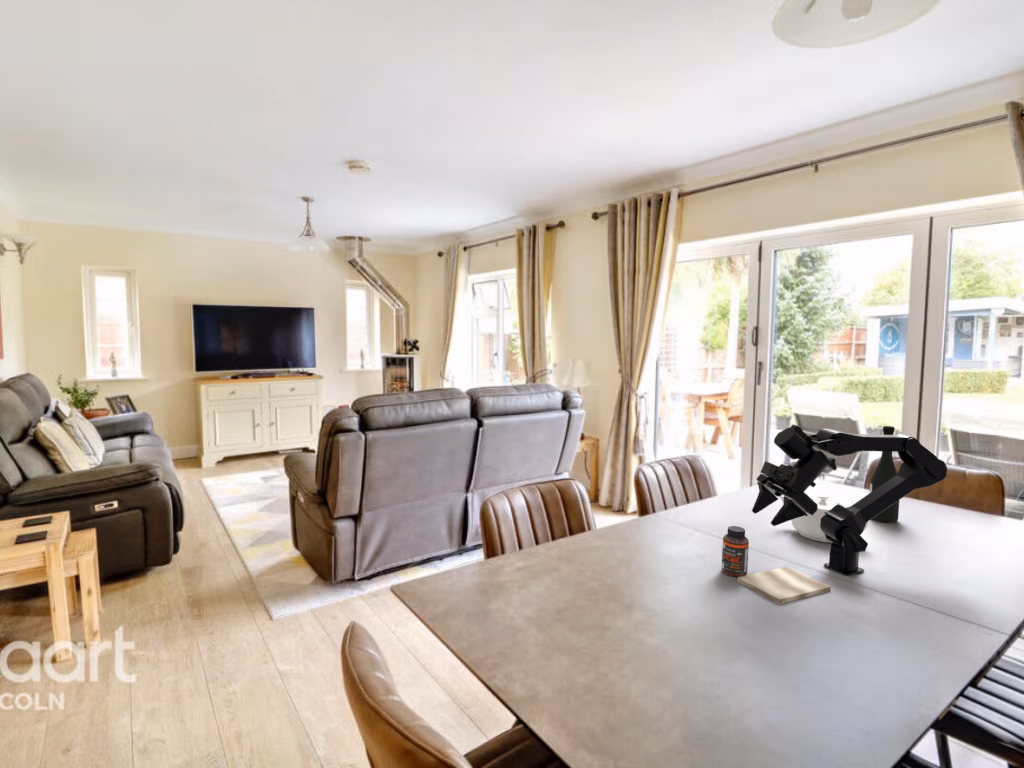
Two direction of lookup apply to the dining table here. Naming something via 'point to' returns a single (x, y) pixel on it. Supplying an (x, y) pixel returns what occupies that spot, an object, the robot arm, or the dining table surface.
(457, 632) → the dining table surface
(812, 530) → the teapot
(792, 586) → the board
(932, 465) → the robot arm
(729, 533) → the supplement bottle
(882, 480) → the wine bottle
